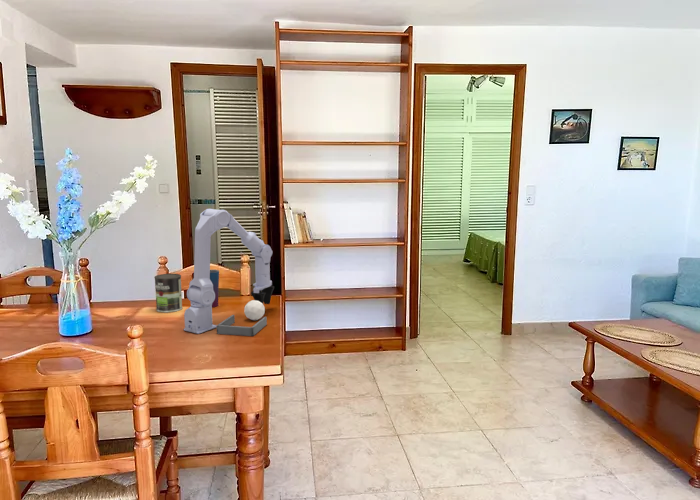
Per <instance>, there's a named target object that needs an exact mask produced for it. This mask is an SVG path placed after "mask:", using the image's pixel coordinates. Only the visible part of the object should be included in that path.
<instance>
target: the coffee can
mask: <svg viewBox="0 0 700 500" xmlns="http://www.w3.org/2000/svg"><path fill="white" fill-rule="evenodd" d="M154 284H155V285H154V287H155V289H154V290H155V301H156V302H155V305H156V310H155V311H156V312H157V313H164V314H165V313H175V312H179V311H181V310H183V297H182V296H183V294H182V275H181V274H180V273H179V274H178V273H163V274H161V273H160V274H157V275H155V276H154Z"/></svg>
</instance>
